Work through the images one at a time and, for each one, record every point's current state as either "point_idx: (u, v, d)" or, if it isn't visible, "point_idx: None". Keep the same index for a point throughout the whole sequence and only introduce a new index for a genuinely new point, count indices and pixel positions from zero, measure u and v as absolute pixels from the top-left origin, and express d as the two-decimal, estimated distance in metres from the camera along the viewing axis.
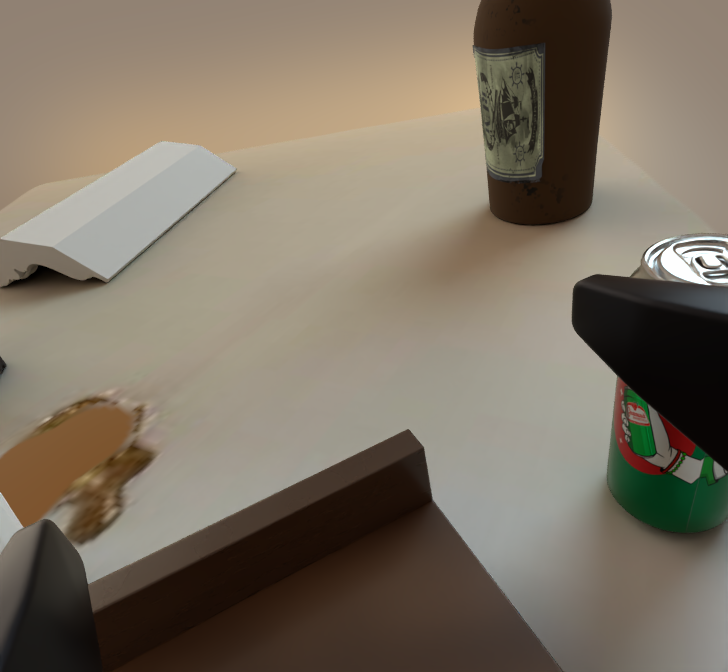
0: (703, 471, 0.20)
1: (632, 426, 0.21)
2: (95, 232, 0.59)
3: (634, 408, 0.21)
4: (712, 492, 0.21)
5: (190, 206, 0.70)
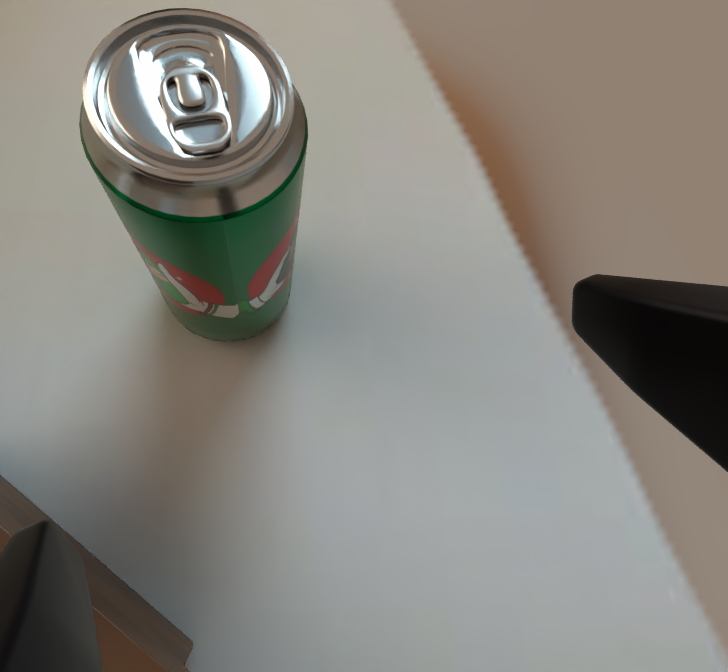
0: (241, 309, 0.18)
1: (156, 277, 0.17)
2: None
3: (149, 265, 0.16)
4: (257, 315, 0.20)
5: None
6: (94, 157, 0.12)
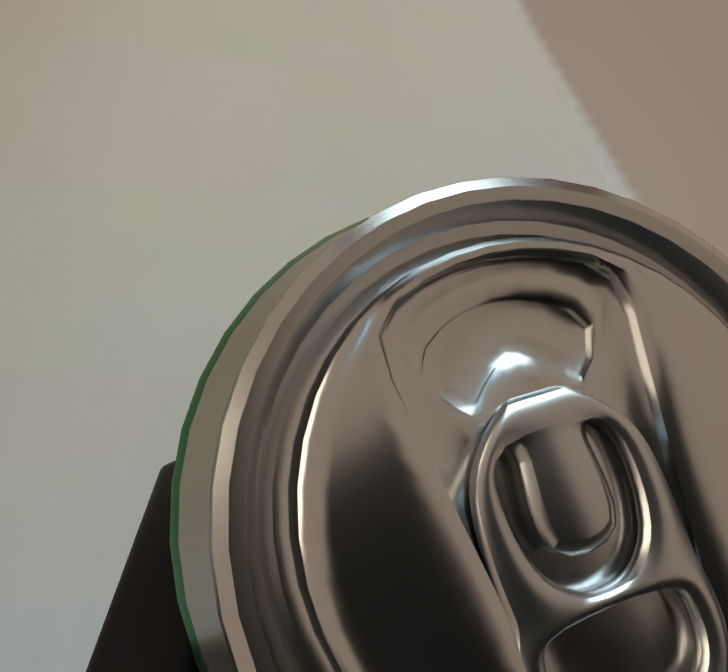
0: None
1: None
2: None
3: None
4: None
5: None
6: None
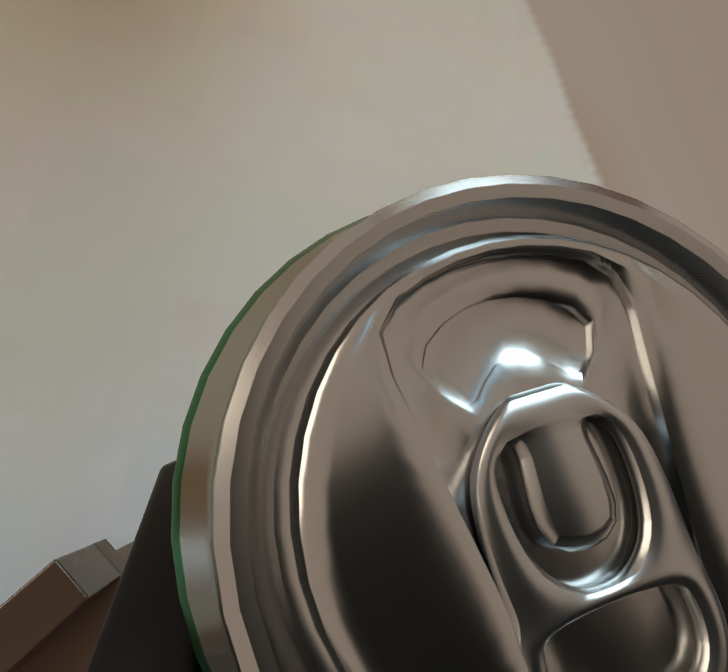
0: None
1: None
2: None
3: None
4: None
5: None
6: None
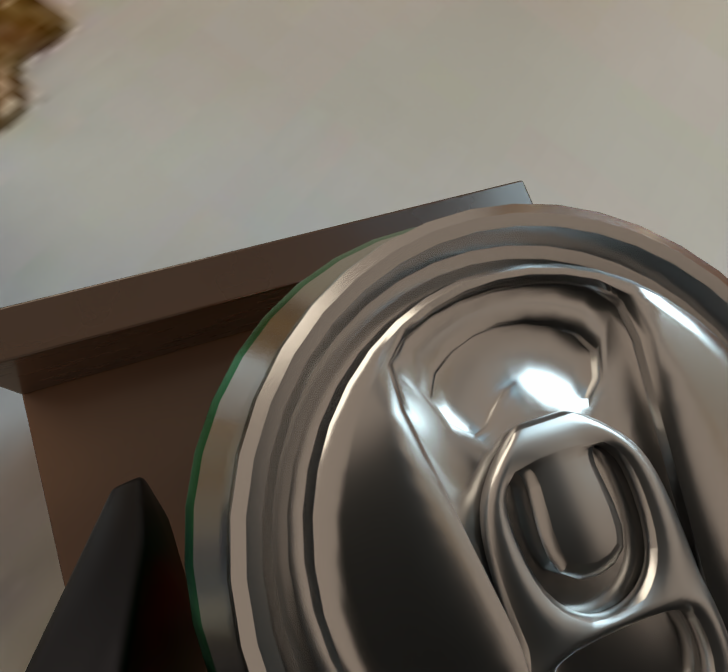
0: None
1: None
2: None
3: None
4: None
5: None
6: None
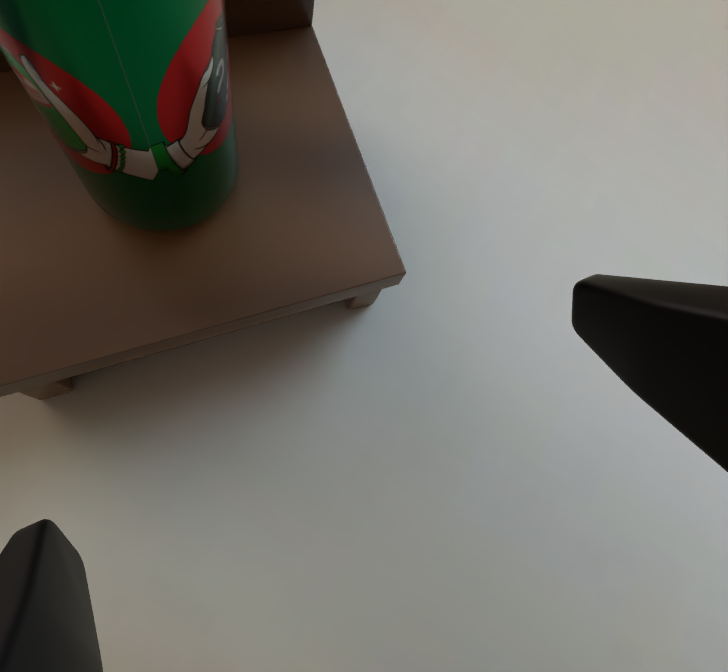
0: (160, 163, 0.14)
1: (38, 106, 0.13)
2: None
3: (20, 77, 0.12)
4: (187, 183, 0.16)
5: None
6: None
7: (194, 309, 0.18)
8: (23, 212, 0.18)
